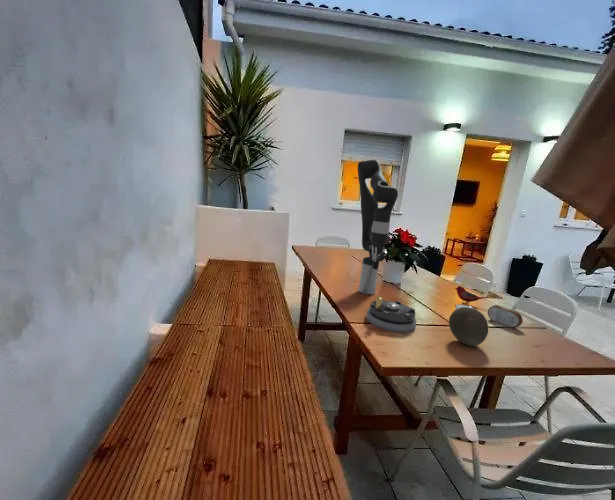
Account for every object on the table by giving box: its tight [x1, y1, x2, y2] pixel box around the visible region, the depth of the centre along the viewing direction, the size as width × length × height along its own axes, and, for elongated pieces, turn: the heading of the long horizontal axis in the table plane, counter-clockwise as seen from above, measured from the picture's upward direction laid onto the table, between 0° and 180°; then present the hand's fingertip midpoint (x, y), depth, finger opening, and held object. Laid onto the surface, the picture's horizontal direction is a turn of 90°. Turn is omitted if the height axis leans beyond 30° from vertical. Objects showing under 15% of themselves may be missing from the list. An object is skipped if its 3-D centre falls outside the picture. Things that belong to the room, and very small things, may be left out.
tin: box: [487, 304, 524, 329], centre depth 152 cm, size 15×3×8 cm, turn 36°
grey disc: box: [369, 296, 416, 324], centre depth 140 cm, size 20×20×9 cm
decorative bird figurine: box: [454, 285, 489, 305], centre depth 176 cm, size 3×18×10 cm, turn 71°
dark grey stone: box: [448, 307, 489, 347], centre depth 125 cm, size 14×14×15 cm
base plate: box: [365, 307, 417, 333], centre depth 141 cm, size 22×22×3 cm
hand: (375, 268), depth 141 cm, fingers closed
